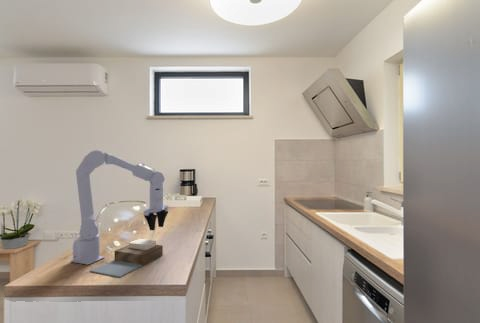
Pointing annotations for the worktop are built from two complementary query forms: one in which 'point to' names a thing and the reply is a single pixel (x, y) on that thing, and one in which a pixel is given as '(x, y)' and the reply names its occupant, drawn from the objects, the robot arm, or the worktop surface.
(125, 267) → the mat
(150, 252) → the brown flat wooden block
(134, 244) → the light grey flat block
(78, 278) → the worktop surface
